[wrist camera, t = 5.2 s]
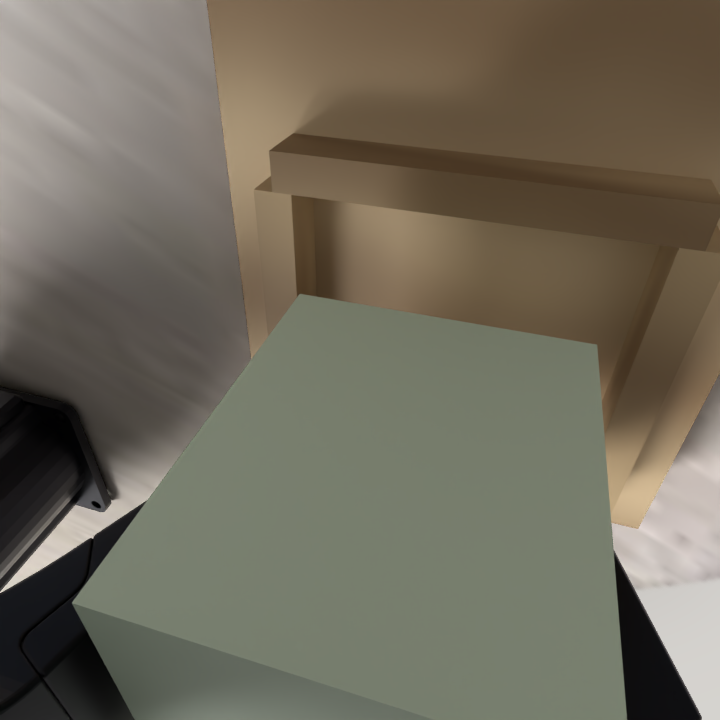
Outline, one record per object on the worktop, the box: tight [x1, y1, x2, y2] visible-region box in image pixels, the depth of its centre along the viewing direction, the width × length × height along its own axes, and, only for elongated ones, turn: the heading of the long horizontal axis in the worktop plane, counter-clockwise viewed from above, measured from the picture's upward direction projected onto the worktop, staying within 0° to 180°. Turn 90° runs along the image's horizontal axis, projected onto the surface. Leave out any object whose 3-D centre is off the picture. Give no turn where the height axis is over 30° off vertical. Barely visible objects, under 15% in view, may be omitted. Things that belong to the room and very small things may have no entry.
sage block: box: [72, 294, 627, 720], centre depth 9 cm, size 5×5×6 cm
